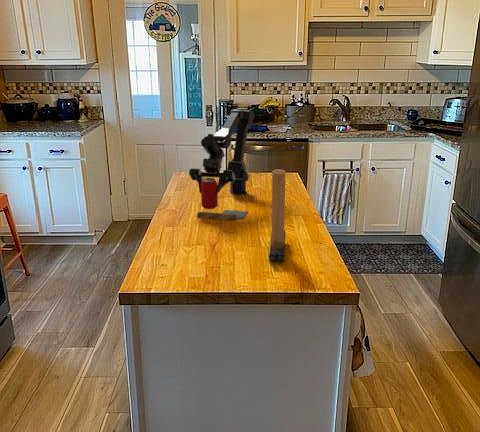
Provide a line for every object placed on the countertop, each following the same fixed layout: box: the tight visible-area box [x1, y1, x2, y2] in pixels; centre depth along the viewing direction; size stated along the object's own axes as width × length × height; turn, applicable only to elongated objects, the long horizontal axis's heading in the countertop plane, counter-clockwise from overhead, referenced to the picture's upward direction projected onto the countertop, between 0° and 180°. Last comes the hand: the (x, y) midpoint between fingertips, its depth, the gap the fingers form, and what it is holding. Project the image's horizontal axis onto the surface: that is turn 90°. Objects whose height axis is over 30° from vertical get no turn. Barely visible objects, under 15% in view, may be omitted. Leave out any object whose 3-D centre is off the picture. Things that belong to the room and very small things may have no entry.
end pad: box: [222, 209, 249, 220], centre depth 198 cm, size 10×9×1 cm
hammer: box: [268, 168, 287, 262], centre depth 154 cm, size 20×5×30 cm, turn 174°
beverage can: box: [200, 177, 219, 210], centre depth 197 cm, size 7×7×12 cm
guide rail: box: [196, 211, 237, 221], centre depth 193 cm, size 16×2×2 cm, turn 77°
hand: (208, 193), depth 195 cm, fingers closed on beverage can, 7 cm apart
